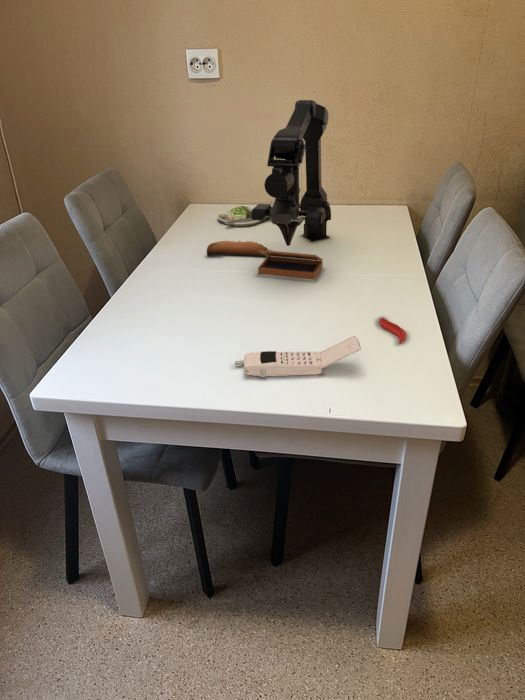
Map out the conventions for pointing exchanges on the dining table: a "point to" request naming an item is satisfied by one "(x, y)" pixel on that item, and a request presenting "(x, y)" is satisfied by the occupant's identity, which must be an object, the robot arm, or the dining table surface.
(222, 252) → the sunglasses case
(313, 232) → the robot arm
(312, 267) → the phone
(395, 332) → the cayenne pepper
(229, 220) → the salad plate
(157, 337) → the dining table surface
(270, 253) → the cover
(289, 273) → the wooden box
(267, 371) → the mobile phone
